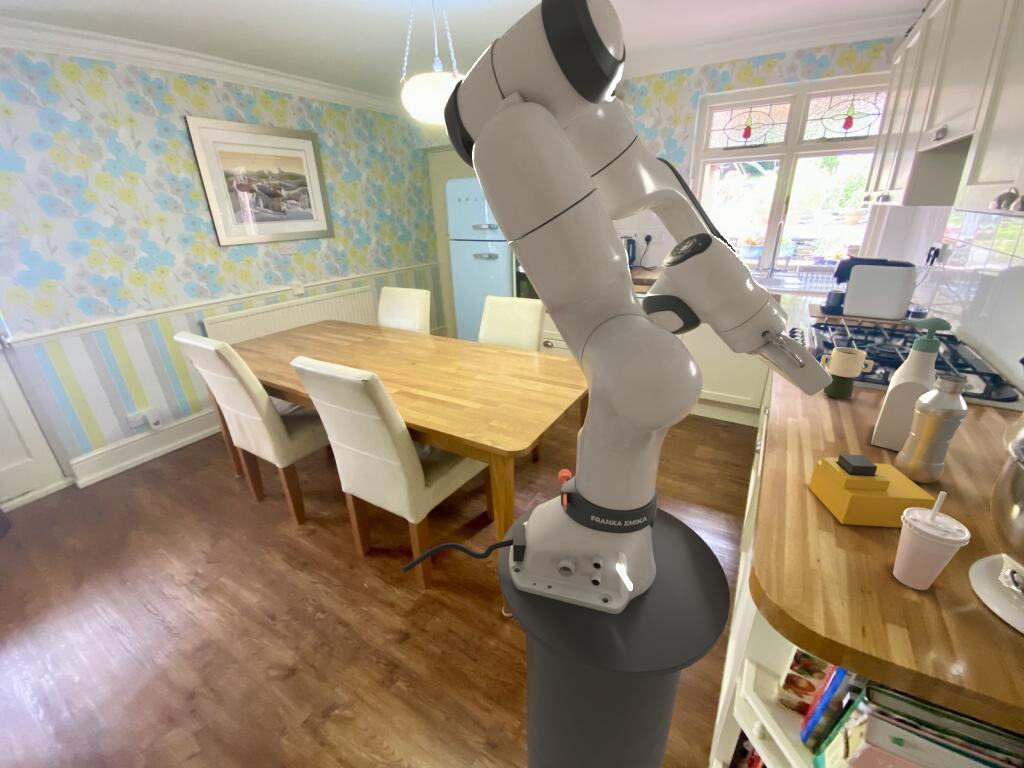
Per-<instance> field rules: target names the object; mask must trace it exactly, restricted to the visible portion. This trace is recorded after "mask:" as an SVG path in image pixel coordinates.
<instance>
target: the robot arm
mask: <svg viewBox="0 0 1024 768" xmlns="http://www.w3.org/2000/svg"><path fill="white" fill-rule="evenodd" d="M624 40H625V39H624V34H623V29H622V24H621V20H620V18H619V15H618V13H617V10H616V9H615V6H614V5H613V4H612V2H611V0H541V2H540V3H538V4H536V6H534V7H533V8H531V9H530V10H529V11H527V12H526V13H525V14H524V15H523V16H522V17H520V18H519V19H518V20H517V21H516V22H515V23H514V24H513V25H511V26H510V27H509V28H508V29H507V31H505V32H504V33H503V34H502V36H501V37H497V38H496V39H495V40H494V41H493V42H492V43H491V44H490V45H489V46H488V47H487V48H486V49H485V50H484V52H483V53H482V55H480V57H479V58H478V59H477V61H475V63H474V64H473V65H472V67H471V68H470V70H469V71H468V72H467V73H466V76H465V77H464V78H462V79H460V80H459V81H457V83H456V84H455V86H454V88H453V89H452V91H451V92H450V94H449V96H448V98H447V100H446V102H445V105H444V108H443V118H444V127H445V132H446V136H447V139H448V141H449V144H450V145H451V148H452V149H453V151H454V152H455V154H456V155H457V156H458V158H459V159H461V161H462V162H463V163H464V164H466V165H467V166H468V168H469V167H470V168H471V169H472V170H474V171H475V174H476V176H477V180H478V182H479V185H480V187H481V191H482V192H483V195H484V197H485V200H486V201H487V205H488V207H489V209H490V211H491V213H492V215H493V218H494V220H495V222H496V224H497V226H498V228H499V229H500V231H501V233H502V235H503V237H504V239H505V241H506V242H507V243H508V246H509V247H510V250H511V251H512V253H513V255H514V257H515V258H516V260H517V262H518V263H519V265H520V267H521V268H522V270H523V272H524V274H525V275H526V277H527V279H528V281H529V282H530V284H531V286H532V287H533V289H534V291H535V293H536V294H537V296H538V298H539V300H540V301H541V304H542V305H543V307H544V309H545V310H546V312H547V313H548V316H549V318H550V319H551V321H552V322H553V324H554V327H556V329H557V331H558V333H559V335H560V337H561V338H562V340H563V342H564V343H565V345H566V347H567V349H568V350H569V352H570V354H571V356H572V358H573V360H574V361H575V363H576V365H577V366H578V368H579V370H580V371H581V372H582V374H583V376H584V378H585V380H586V385H587V391H588V402H587V403H588V404H587V411H586V415H585V418H584V423H583V425H582V427H581V428H580V429H579V430H578V433H577V439H576V440H577V441H576V457H575V458H576V461H575V475H574V476H572V475H573V474H572V471H570V469H568V468H563V469H561V470H560V471H559V472H558V480H557V481H558V484H559V485H560V495H558V496H556V497H554V499H553V498H551V499H552V500H550V499H548V500H549V501H547V500H546V501H547V502H545V501H544V502H545V503H543V502H542V503H543V504H540V503H539V504H540V505H538V504H537V505H538V506H537V507H536V508H535V509H534V510H533V512H532V513H531V515H530V517H529V520H528V521H527V522H525V523H523V524H514V523H513V524H514V525H513V524H512V525H513V539H511V540H506V541H503V540H501V541H497V542H495V543H493V544H491V545H489V546H488V547H487V548H486V550H485V551H484V552H477V551H474V550H472V549H470V548H469V547H467V546H465V545H463V544H460V543H457V542H446V543H442V544H439V545H436V546H434V547H432V548H430V549H428V550H426V551H425V552H423V553H422V554H421V555H419V556H418V557H417V558H415V559H413V560H412V561H410V562H408V563H407V564H405V565H404V566H402V567H401V568H402V571H403V573H404V574H405V573H408V572H409V571H410V570H411V569H413V568H415V567H417V566H418V565H419V564H421V563H422V562H423V561H425V560H426V559H428V558H430V557H431V556H432V555H433V556H434V554H437V553H439V552H441V551H445V550H457V551H460V552H462V553H464V554H466V555H467V556H469V557H471V558H473V559H477V560H486V559H487V558H489V557H490V556H491V555H492V552H493V551H496V550H498V549H500V548H502V547H507V546H511V548H510V555H509V572H510V576H511V579H512V582H513V584H514V585H515V587H516V588H517V589H518V590H521V591H525V592H528V593H532V594H536V595H540V596H544V597H548V598H552V599H556V600H560V601H564V602H568V603H572V604H576V605H580V606H583V607H587V608H591V609H595V610H599V611H603V612H607V613H611V614H619V613H621V612H622V611H623V610H624V609H625V607H626V606H627V604H628V603H629V601H630V600H631V599H633V598H635V597H637V596H639V595H640V594H642V593H644V592H645V591H646V590H647V589H648V588H649V587H650V586H651V585H652V583H653V582H654V579H655V576H656V565H655V561H654V557H653V550H652V535H651V532H652V527H653V525H654V519H655V518H656V511H657V508H658V492H657V490H656V486H657V485H656V484H657V478H658V471H659V464H660V458H661V453H662V452H661V451H662V447H663V444H664V441H665V438H666V437H667V434H668V432H669V430H670V428H672V427H673V426H675V425H677V424H679V423H680V422H682V421H683V420H685V419H686V417H687V416H689V415H690V414H691V412H693V410H694V409H695V407H696V406H697V404H698V402H699V400H700V398H701V394H702V390H703V374H702V370H701V368H700V366H699V364H698V363H697V360H695V358H694V356H693V355H692V353H691V351H690V350H689V348H688V347H687V346H686V345H685V343H684V342H683V341H682V340H681V338H679V337H678V336H679V335H684V334H686V333H689V332H691V331H694V330H696V329H697V328H698V327H700V325H703V324H706V325H709V326H710V328H711V330H712V331H713V332H714V333H715V334H716V335H717V337H719V339H720V340H721V341H722V342H723V343H724V344H725V346H727V348H728V349H729V350H731V352H733V353H734V354H746V355H748V356H754V357H755V358H756V359H757V360H758V361H761V362H762V363H763V364H764V365H766V367H769V368H770V369H771V370H773V372H775V373H776V374H778V375H779V376H781V377H782V378H783V379H785V380H786V381H787V382H789V383H790V384H792V385H793V386H794V387H796V389H798V390H800V392H802V393H804V394H805V395H806V396H809V397H812V396H814V395H816V394H818V393H819V392H821V391H823V390H824V388H825V387H827V386H828V385H829V384H831V383H832V377H831V375H832V374H831V373H830V372H829V371H828V369H826V368H825V366H822V365H821V364H820V362H819V360H818V359H817V358H816V357H815V356H814V355H813V354H812V353H811V351H809V350H808V349H807V348H806V347H805V346H804V345H802V344H801V342H799V341H797V340H796V339H794V338H792V337H790V336H789V335H787V334H786V332H787V327H786V325H787V323H788V320H789V316H788V313H787V311H785V309H784V308H783V307H782V306H781V305H780V304H779V302H777V300H776V299H775V298H774V296H772V294H771V293H770V292H769V291H768V290H767V289H766V288H765V287H763V285H761V284H759V283H758V282H757V281H756V280H755V279H754V277H753V274H752V272H751V270H750V268H749V267H748V265H746V264H745V262H744V261H743V260H742V259H741V258H740V257H739V255H738V252H737V250H736V248H735V247H734V245H733V244H732V243H731V242H730V241H729V240H728V239H727V238H726V237H725V236H723V234H722V233H721V232H720V231H719V230H718V229H717V227H716V226H715V225H714V223H713V222H712V220H711V219H710V217H709V216H708V214H707V212H706V211H705V210H704V208H703V206H702V205H701V204H700V202H699V201H698V199H697V197H696V196H695V194H694V193H693V191H692V189H691V188H690V187H689V185H688V184H687V182H686V181H685V179H684V178H683V176H682V175H681V174H680V172H679V171H678V170H677V168H676V167H675V166H674V165H673V164H671V162H669V161H668V160H667V159H664V158H663V157H655V156H654V155H653V154H652V153H651V152H650V151H649V149H648V148H647V147H646V146H645V143H643V141H642V139H641V137H640V135H639V134H638V132H637V130H636V128H635V126H634V124H633V122H632V120H631V119H630V117H629V115H628V113H627V112H626V109H625V108H624V107H623V105H622V104H621V102H620V100H619V98H618V97H617V96H616V87H617V85H618V84H619V83H620V81H621V79H622V75H623V71H624V66H625V62H626V56H627V55H626V54H627V53H626V45H625V41H624ZM646 210H649V211H651V212H652V213H654V214H655V215H656V216H657V218H658V219H659V221H660V222H661V223H662V224H663V226H664V227H665V228H666V230H667V232H668V233H669V234H670V235H671V237H672V238H673V239H674V241H675V243H676V245H674V247H672V248H671V249H670V251H668V253H667V254H666V255H665V257H664V259H663V261H662V262H661V263H662V264H661V271H660V274H659V275H658V277H657V279H656V280H655V282H654V283H653V284H652V285H651V286H650V288H649V289H648V291H647V292H646V294H645V296H644V297H643V299H642V302H641V303H640V300H639V298H638V295H637V291H636V288H635V286H634V282H633V279H632V275H631V271H630V267H629V255H628V251H627V249H626V246H625V245H624V242H623V240H622V238H621V236H620V234H619V232H618V230H617V228H616V226H615V223H614V221H617V220H623V219H626V218H629V217H632V216H635V215H637V214H639V213H642V212H645V211H646ZM516 571H518V572H516ZM603 601H606V602H607V603H604V602H603Z"/></svg>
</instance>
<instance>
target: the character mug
mask: <svg viewBox="0 0 1024 768" xmlns="http://www.w3.org/2000/svg"><path fill="white" fill-rule="evenodd" d="M867 356H868V355H867V352H866V351H864V350H862V349H858V348H853V347H847V346H846V347H845V346H837V347H834V348H833V349H832V350H831V354H827V353H824V354H822V356H821V359H820V362H819V363H820V364H821V365H822V366H823V367H827V372H828V373H829V374H830V375H831V377H832V383H831V384H829V385H828V386H827V387H825V388H824V389H822V392H823V393H824V394H826V395H827V396H829V397H832V398H834V399H851V397H852V396H853V392H854V391H853V390H854V382H855V380H854V378H857V377H859V376H860V375H861V373H862V372H863V373H864V372H865V373H871V371H872V370H873V367H874V363H875V361H874V360H872V359H866V357H867ZM827 359H829V361H828V363H827V362H826V360H827ZM865 364H867V367H864V365H865Z"/></svg>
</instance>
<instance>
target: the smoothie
mask: <svg viewBox="0 0 1024 768" xmlns="http://www.w3.org/2000/svg"><path fill="white" fill-rule="evenodd" d="M946 496H947V492H945V491H942V490H941V491H940V492H939V494H938V497H937V499H936V501H935V503H934V506H933V508H932V510H929V509H925V508H908V509H906V510H905V511H904V513H903V515H902V516H901V520H902V522H903V526H902V528H901V531H900V532H901V533H900V536H899V540H898V546H897V550H896V555H895V559H894V566H893V570H892V575H893V576H894V577H895V578H896V580H898V581H899V582H900V583H902V584H903V585H905V586H907V587H908V588H911V589H915V590H918V591H926V590H928V589H930V587H931V586H932V585H933V583H934V582H935V580H936V579H937V578H938V577H939V575H940V574H941V572H943V570H944V569H945V568H946V566H947V565H948V564H949V562H950V561H951V560H952V558H953V557H954V556H955V555H956V554H957V552H959V550H960V548H961V547H966V546H967V545H968V544H969V543H970V539H971V532H970V531H969V529H968V528H967V527H966V526H965V525H964V524H962V522H960V521H958V520H956V519H955V518H953V517H951V516H949V515H947V514H945V513H942V512H939V511H940V509H941V507H942V505H943V503H944V501H945V498H946Z"/></svg>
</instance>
